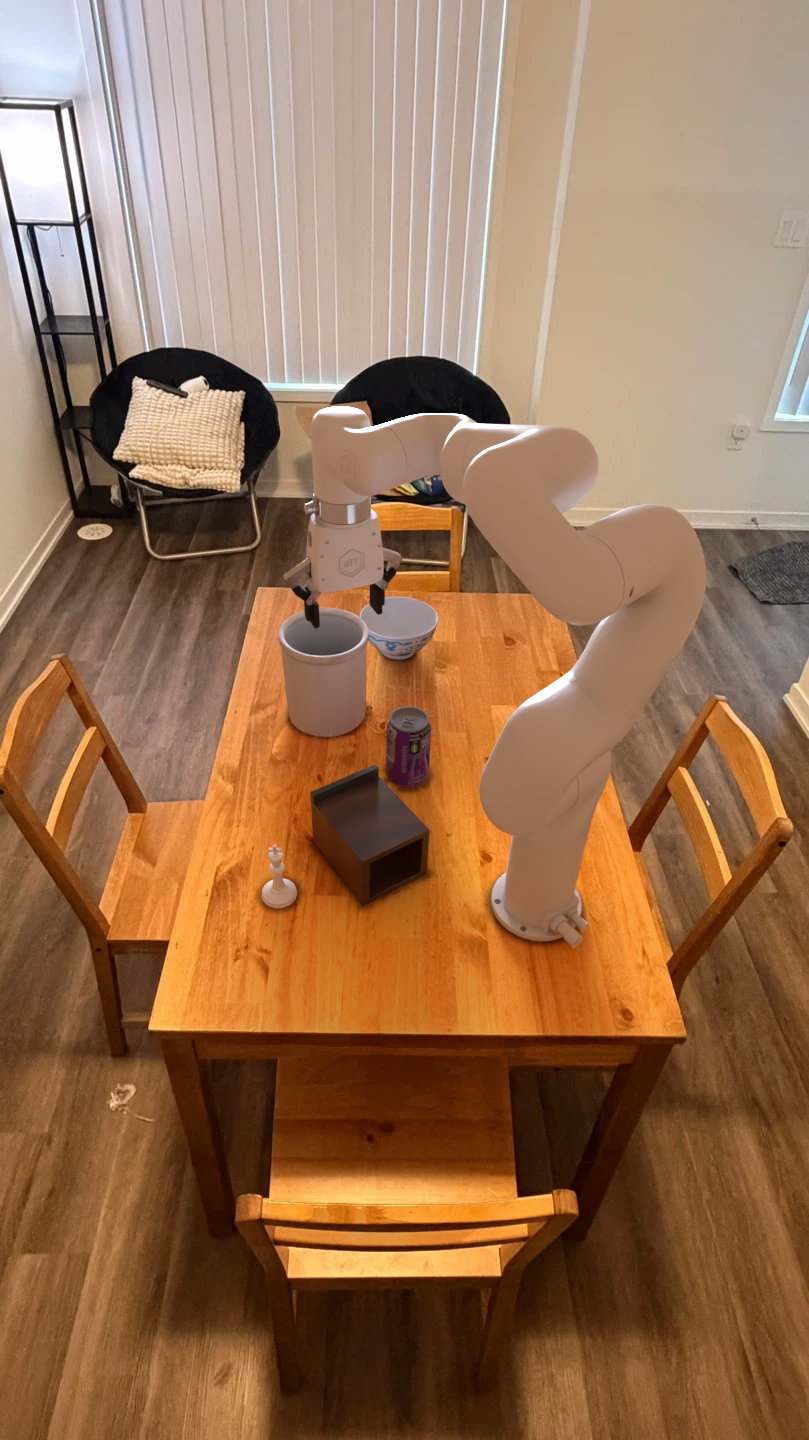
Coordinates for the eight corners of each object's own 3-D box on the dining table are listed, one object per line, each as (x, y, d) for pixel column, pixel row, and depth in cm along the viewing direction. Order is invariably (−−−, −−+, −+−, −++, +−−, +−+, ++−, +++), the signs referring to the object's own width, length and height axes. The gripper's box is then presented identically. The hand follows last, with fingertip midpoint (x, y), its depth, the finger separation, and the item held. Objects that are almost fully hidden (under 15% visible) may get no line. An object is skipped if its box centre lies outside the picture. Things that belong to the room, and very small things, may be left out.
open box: (426, 873, 124) (430, 821, 117) (362, 906, 119) (362, 854, 112) (374, 815, 133) (375, 763, 126) (312, 844, 128) (309, 791, 121)
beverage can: (424, 793, 137) (427, 735, 129) (381, 786, 138) (382, 728, 130) (432, 764, 142) (435, 707, 135) (390, 757, 143) (391, 701, 136)
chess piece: (264, 880, 122) (259, 831, 116) (299, 881, 122) (295, 832, 116) (259, 907, 118) (253, 858, 112) (294, 909, 118) (290, 860, 112)
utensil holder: (348, 749, 145) (347, 664, 134) (270, 727, 149) (262, 644, 138) (380, 700, 156) (382, 618, 145) (306, 681, 159) (302, 600, 148)
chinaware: (357, 630, 173) (357, 597, 169) (430, 628, 175) (432, 595, 170) (362, 673, 162) (362, 639, 157) (440, 670, 163) (443, 636, 158)
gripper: (289, 528, 107) (297, 642, 118) (414, 507, 113) (410, 617, 124) (271, 505, 113) (280, 616, 123) (391, 485, 119) (389, 593, 129)
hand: (345, 616), depth 124 cm, fingers open, 9 cm apart
